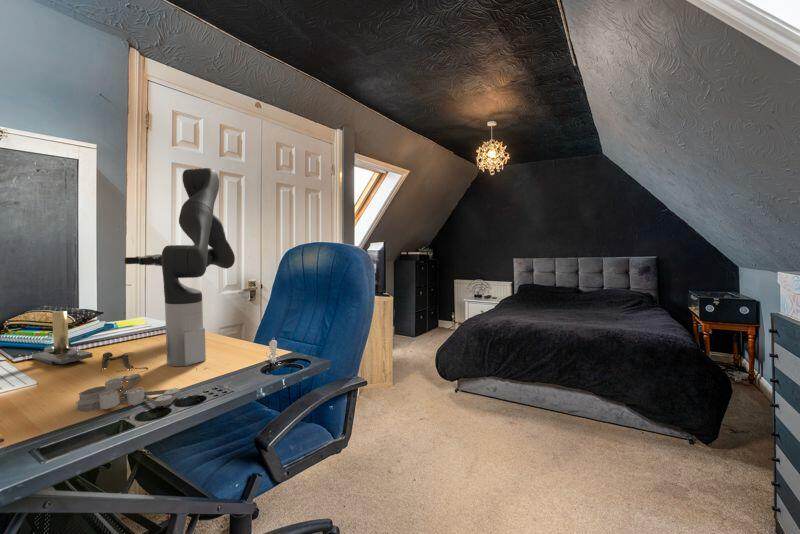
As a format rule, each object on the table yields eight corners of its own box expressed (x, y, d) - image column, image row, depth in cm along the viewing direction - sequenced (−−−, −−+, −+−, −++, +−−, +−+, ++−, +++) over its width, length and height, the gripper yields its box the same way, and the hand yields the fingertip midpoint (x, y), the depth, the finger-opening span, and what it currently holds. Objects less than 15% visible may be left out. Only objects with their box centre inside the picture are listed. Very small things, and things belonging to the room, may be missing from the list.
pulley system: (105, 434, 68) (189, 400, 81) (102, 409, 68) (187, 379, 80) (57, 403, 83) (134, 379, 96) (54, 383, 83) (131, 361, 95)
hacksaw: (103, 357, 112) (102, 352, 112) (144, 351, 118) (144, 346, 118) (99, 380, 93) (99, 374, 93) (149, 372, 99) (148, 366, 99)
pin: (71, 359, 109) (69, 311, 108) (57, 362, 106) (54, 313, 105) (66, 357, 110) (64, 310, 109) (52, 360, 107) (49, 312, 106)
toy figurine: (268, 367, 102) (267, 340, 102) (257, 361, 108) (256, 335, 108) (286, 363, 106) (286, 337, 105) (274, 357, 112) (274, 333, 111)
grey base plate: (92, 361, 107) (92, 348, 106) (61, 368, 100) (60, 354, 100) (61, 352, 115) (61, 340, 115) (31, 358, 109) (30, 345, 109)
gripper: (169, 248, 138) (119, 249, 124) (193, 249, 132) (144, 249, 117) (169, 269, 139) (120, 271, 124) (193, 270, 132) (145, 273, 118)
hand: (132, 261), depth 121 cm, fingers open, 8 cm apart
